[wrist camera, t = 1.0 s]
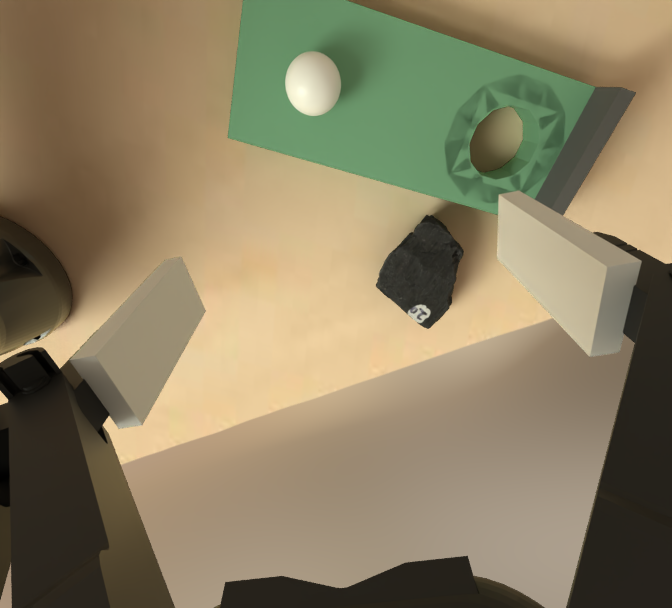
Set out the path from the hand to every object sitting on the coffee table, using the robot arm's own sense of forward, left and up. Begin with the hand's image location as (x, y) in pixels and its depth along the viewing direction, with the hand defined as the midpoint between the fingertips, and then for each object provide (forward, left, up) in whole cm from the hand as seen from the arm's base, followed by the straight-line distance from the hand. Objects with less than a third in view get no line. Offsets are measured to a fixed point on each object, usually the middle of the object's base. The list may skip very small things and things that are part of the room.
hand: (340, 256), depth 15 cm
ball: (-3, +5, -17) cm, 18 cm away
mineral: (+10, -8, -22) cm, 25 cm away
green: (+5, +5, -22) cm, 23 cm away
